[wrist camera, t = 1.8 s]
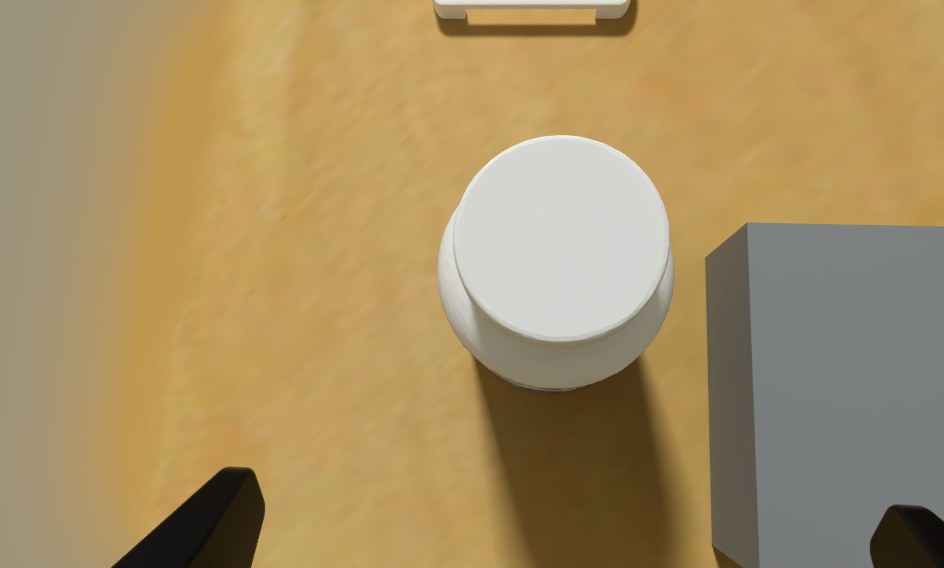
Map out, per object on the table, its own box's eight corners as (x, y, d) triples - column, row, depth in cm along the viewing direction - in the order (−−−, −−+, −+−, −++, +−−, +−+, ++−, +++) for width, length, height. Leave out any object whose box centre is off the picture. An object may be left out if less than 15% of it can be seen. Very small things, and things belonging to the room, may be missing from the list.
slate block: (1030, 566, 18) (1167, 609, 14) (711, 545, 19) (760, 580, 15) (996, 264, 20) (1111, 230, 16) (705, 257, 21) (747, 222, 17)
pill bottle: (475, 226, 22) (436, 84, 12) (633, 242, 21) (723, 108, 12) (454, 383, 21) (393, 362, 11) (619, 405, 20) (703, 403, 11)
